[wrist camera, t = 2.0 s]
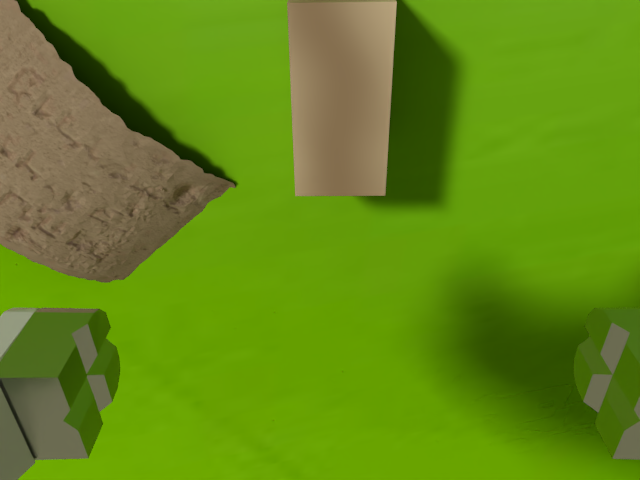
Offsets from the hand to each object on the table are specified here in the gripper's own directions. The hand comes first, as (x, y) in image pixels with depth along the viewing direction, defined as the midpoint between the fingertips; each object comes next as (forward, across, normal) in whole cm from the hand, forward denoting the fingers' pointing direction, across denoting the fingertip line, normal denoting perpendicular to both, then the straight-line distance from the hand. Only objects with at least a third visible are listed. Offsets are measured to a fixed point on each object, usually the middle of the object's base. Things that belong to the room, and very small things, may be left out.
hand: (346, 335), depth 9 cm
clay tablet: (+18, +13, +4) cm, 22 cm away
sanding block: (+17, 0, 0) cm, 17 cm away
